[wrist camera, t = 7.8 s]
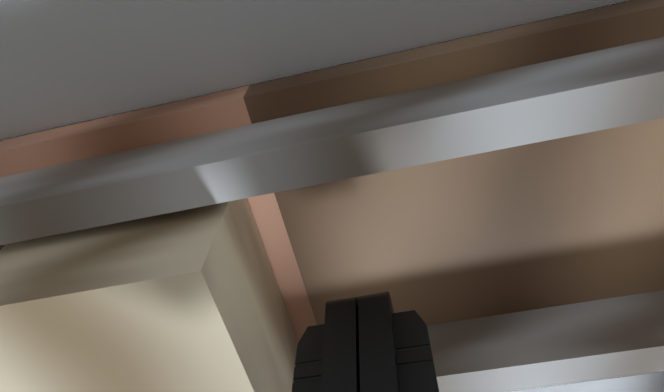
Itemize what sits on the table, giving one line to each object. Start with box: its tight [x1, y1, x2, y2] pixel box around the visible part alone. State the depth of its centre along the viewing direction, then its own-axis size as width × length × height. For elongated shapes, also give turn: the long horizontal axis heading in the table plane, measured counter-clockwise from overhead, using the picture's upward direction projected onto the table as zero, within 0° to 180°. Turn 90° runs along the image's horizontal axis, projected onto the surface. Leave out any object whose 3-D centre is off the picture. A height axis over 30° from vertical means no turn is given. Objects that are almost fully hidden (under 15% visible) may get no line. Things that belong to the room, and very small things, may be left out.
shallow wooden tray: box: [0, 0, 664, 392], centre depth 14 cm, size 23×10×4 cm, turn 103°
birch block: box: [0, 198, 297, 392], centre depth 13 cm, size 6×6×4 cm
